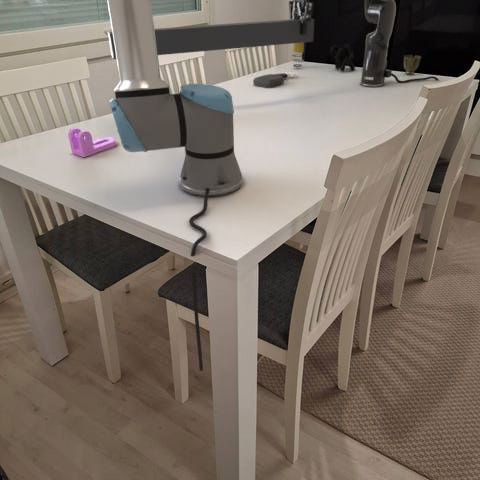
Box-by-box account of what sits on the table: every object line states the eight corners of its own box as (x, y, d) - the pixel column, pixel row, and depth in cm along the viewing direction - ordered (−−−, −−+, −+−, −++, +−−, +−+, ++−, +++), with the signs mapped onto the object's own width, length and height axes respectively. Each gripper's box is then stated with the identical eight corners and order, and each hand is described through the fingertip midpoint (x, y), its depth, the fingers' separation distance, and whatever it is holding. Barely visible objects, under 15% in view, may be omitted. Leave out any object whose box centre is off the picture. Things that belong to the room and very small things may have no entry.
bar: (113, 59, 140) (109, 33, 136) (111, 56, 143) (107, 32, 140) (313, 41, 162) (314, 19, 158) (306, 40, 166) (307, 18, 162)
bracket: (84, 157, 126) (79, 133, 123) (72, 153, 129) (66, 129, 126) (119, 144, 135) (116, 121, 131) (108, 140, 138) (104, 118, 134)
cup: (399, 75, 209) (402, 56, 205) (402, 71, 214) (405, 54, 210) (416, 76, 206) (419, 57, 202) (418, 73, 211) (422, 55, 207)
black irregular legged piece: (345, 81, 223) (323, 62, 226) (359, 67, 223) (338, 48, 225) (346, 70, 212) (324, 50, 215) (362, 55, 211) (339, 35, 214)
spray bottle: (250, 85, 197) (282, 75, 213) (270, 88, 191) (301, 78, 207) (250, 78, 195) (282, 69, 211) (271, 81, 189) (302, 72, 206)
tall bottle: (304, 68, 225) (308, 1, 209) (295, 69, 223) (298, 2, 207) (299, 66, 229) (303, 0, 213) (289, 67, 227) (292, 1, 211)
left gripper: (133, -31, 125) (144, 57, 137) (122, -31, 139) (133, 49, 151) (105, -31, 122) (119, 60, 134) (97, -30, 136) (110, 51, 149)
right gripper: (322, -21, 148) (318, 35, 157) (301, -22, 159) (299, 30, 168) (302, -20, 145) (299, 37, 154) (282, -21, 157) (281, 32, 166)
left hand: (126, 54), depth 143 cm, fingers closed on bar, 5 cm apart
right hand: (299, 33), depth 161 cm, fingers closed on bar, 5 cm apart
